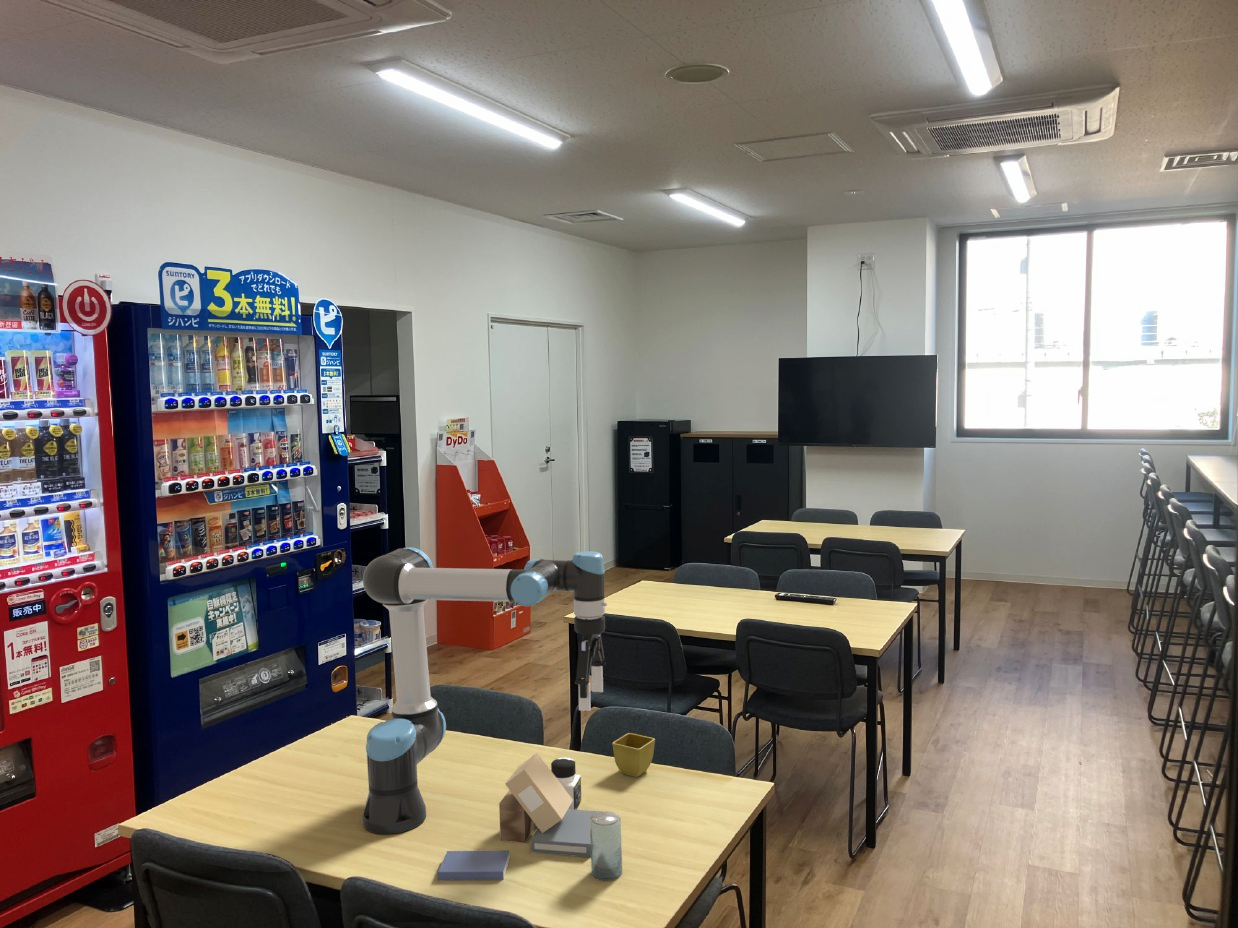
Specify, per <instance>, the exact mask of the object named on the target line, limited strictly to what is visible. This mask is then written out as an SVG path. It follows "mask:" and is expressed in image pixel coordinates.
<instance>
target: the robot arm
mask: <svg viewBox="0 0 1238 928" xmlns="http://www.w3.org/2000/svg"><path fill="white" fill-rule="evenodd" d="M605 573H606V571H605V564H604V557H603V555H602V553H600V552H598V551H590V550H589V551H577V552H575V553H574V554H573V556H572V559H570V560H563V559H562V560H558V559H544V558H539V559H530V560H528V561H527V562H526V564H525V566H524V569H510V568H507V569H506V568H505V569H503V568H462V567H461V568H454V567H453V568H451V567H448V568H447V567H446V568H445V567H434V566H433V562H432V560H431V559H430V557H429V556H428V555H427V554H426V553H425V552H424V551H423V550H421V549H419V548H415V547H411V546H409V547H403V548H402V547H401V548H397V549H395V550H393V551H391V552H389V553H386V554H383V555H381V556H377V557H376V558H374V559H373V560H372V561H370V562H369V563H368V565H367V566H366V568H365V569H364V571H363V576H362V585H363V588H364V590H365V592H366V594H367V595H368V596H369V597H370V598H371V599H372V600H374V601H376V602H377V603H380V604H382V606H383V607H385V608H386V609H387V610H388V612H389V625H390V637H391V647H392V648H391V649H392V659H393V671H394V682H395V683H394V684H395V695H396V702H395V703H394V704H393V705H392V706H391V708H390V711H391V719H386V720H385V721H381V722H378V723H376V724H375V725H374V726H373V727H371V728H370V729H369V731H368V733H367V735H366V745H365V751H366V761H367V763H366V764H367V781H368V782H367V783H368V794H367V798H366V801H365V805H364V809H363V812H362V826H363V828H364V829H365V830H366V831H369V832H370V833H373V834H378V835H379V834H380V835H392V834H399V833H403V832H406V831H407V832H408V831H410V830H412V829H415V828H416V827H419V826H420V825H421V824H423V823H424V822H425V820H426V819H427V807H426V803H425V801H424V798H423V796H422V793H421V791H420V788H419V786H418V784H419V783H418V765H419V763H420V762H422V761H423V760H424V759H425V758H426V757H427V756H428V755H429V754H431V753H433V751H435V750H436V748H438V746H439V745H440V744H441V742H442V741H443V739H444V737H445V735H446V734H445V733H446V730H447V723H446V717H445V715H444V714H443V712H441V711H440V708H439V707H438V702H437V700H436V699H435V698H433V697H432V696H431V687H430V686H431V685H430V673H429V672H430V671H429V661H428V660H429V659H428V649H427V636H426V625H425V624H426V622H425V611H424V610H425V609H424V607H425V605H426V603H427V602H428V601H431V600H432V601H461V602H462V601H463V602H464V601H467V602H468V601H470V602H471V601H472V602H473V601H474V602H477V601H478V602H503V603H504V602H507V603H509V602H510V603H511V602H512V603H517V604H519V605H520V606H522V607H530V606H531V607H532V606H535V605H538V604H539V603H540V602H542V601H543V600H544V599H545V598H547V597H548V596H549V595H551V594H552V593H553V592H573V614H574V616H575V617H574V618H573V619H574V620H573V621H574V622H573V623H574V625H573V627H574V629H573V630H574V632H576V633H577V634H580V635H582V639H580V641H579V642H578V652H577V653H578V655H577V665H576V676H575V680H574V685H578V687H577V688H578V711H583V712H584V711H585V712H587V711H588V712H590V711H591V692H592V693H603V692H604V677H603V673H604V672H603V670H604V669H603V667H604V666H606V664H607V662H606V660H605V653H604V647H603V640H602V633H604V632H605V630H606V617H605V615H604V614H606V613H605V612H606V611H605V610H606V609H605V608H606V607H607V606H608V603H607V602H605ZM590 676H591V682H590Z"/></svg>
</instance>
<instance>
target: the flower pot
mask: <svg viewBox="0 0 1238 928" xmlns="http://www.w3.org/2000/svg"><path fill="white" fill-rule="evenodd" d="M655 743H656V739H655V738H654V737H649V736H645V735H641V734H636V733H631V732H628V733H626V734H624V735H622V736H621V737H619V738H618V739H615V740H614V741H613V742H612V743H611V745H612V752H613V757H614V762H615V765H616V767H617V768H618V770H619V771H620V773H621V774H623V775H627V776H630V777H631V776H632V777H633V778H638V777H640V776H642V774H644V773H645V772H647V771H648V769H649V767H650V766H651V764H652V760H653V757H654V752H655V751H654V750H655Z"/></svg>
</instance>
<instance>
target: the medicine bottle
mask: <svg viewBox="0 0 1238 928" xmlns="http://www.w3.org/2000/svg"><path fill="white" fill-rule="evenodd" d="M550 766H551V767H550V768H551V769H550V770H551V772H552V773H553V774H554V775H555V777H556V778H557V779H558V781H559V782H560V783H561V785H562V786H563V787H564V789H565V790H566V791H567V793H568V794H569V795H570V797H571V798H572V799H573V801H572V803H571V805H570V806H569V808H568V809H574V810H579V809H578V808H579V807H580V804H581V803H582V777H581V776H582V775H580V774H577V773H576V772H577V771H576V761H575V760H574V759H573V758H570V757H558V758H555V759H554V760H553V761H552V762H551V764H550Z"/></svg>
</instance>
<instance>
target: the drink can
mask: <svg viewBox="0 0 1238 928" xmlns="http://www.w3.org/2000/svg"><path fill="white" fill-rule="evenodd" d="M621 819H622V818H621V816H620V815H618V814H617V813H615V812H613V811H602V812H599V813H596V814H595V815H593V816H592V817H591V818H590V839H591V857H590V864H591V865H590V867H591V869H590V871H591V876H592V877H593V879H595V880H597V881H600V882H611V881H615V880H618V879H620V877H622V876H623V861H622V860H623V856H622V822H621Z"/></svg>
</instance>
